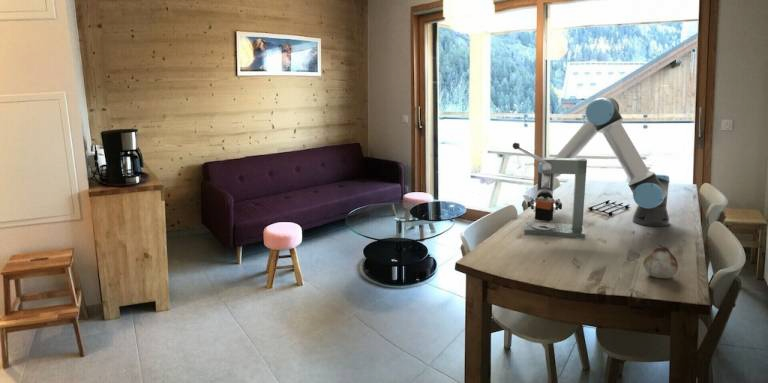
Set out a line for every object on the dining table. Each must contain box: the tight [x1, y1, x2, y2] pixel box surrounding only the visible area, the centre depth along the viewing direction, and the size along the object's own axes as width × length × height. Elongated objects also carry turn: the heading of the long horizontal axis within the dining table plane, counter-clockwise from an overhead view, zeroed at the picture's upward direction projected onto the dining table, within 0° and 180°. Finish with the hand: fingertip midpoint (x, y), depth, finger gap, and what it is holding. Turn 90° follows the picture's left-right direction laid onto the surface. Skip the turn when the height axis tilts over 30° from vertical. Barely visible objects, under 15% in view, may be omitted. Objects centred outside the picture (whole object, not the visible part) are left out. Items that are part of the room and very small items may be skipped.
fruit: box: [643, 244, 679, 279], centre depth 166 cm, size 10×9×12 cm
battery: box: [534, 197, 554, 223], centre depth 218 cm, size 4×7×10 cm, turn 48°
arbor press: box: [512, 141, 588, 239], centre depth 216 cm, size 32×14×40 cm, turn 72°
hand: (544, 209), depth 213 cm, fingers closed on battery, 8 cm apart
